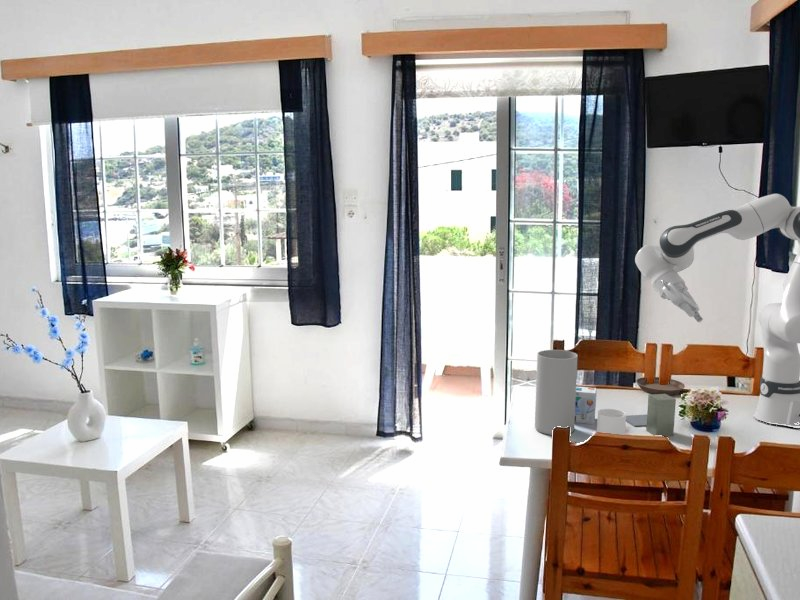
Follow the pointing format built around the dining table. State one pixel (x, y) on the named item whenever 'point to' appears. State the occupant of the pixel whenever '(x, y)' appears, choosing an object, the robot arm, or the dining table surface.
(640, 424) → the slate mat
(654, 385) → the plant saucer
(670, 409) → the sage green pillar
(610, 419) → the cup
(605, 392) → the dining table surface
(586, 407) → the light bulb box
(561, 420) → the cylinder vase
